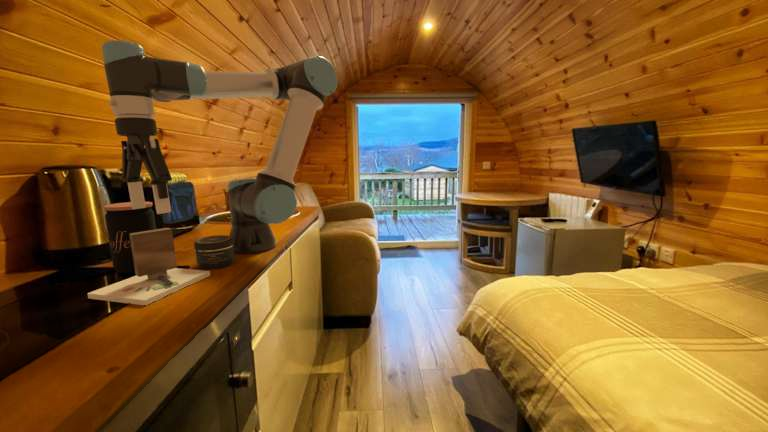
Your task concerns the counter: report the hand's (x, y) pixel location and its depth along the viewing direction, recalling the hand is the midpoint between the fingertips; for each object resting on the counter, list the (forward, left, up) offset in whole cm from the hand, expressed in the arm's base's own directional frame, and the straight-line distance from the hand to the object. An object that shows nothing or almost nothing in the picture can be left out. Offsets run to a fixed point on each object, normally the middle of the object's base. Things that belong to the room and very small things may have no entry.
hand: (151, 210), depth 79 cm
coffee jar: (-8, -16, -18) cm, 25 cm away
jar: (-15, +4, -18) cm, 24 cm away
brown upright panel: (+2, +3, -16) cm, 17 cm away
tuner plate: (+2, +1, -18) cm, 18 cm away
